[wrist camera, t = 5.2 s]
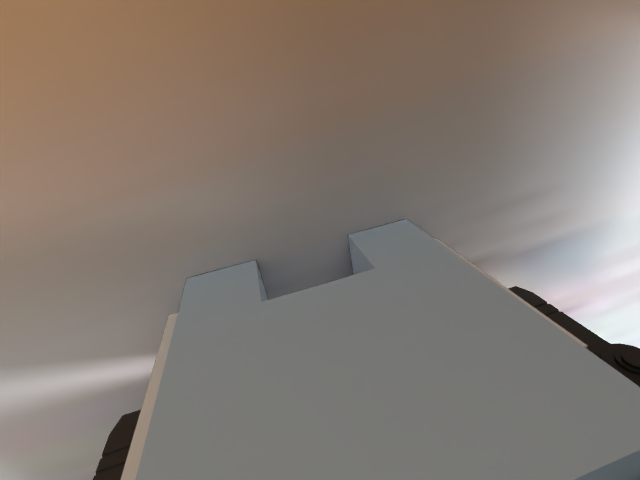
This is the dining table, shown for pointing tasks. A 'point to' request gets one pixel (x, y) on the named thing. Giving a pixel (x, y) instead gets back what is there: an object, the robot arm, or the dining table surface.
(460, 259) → the slotted blue block
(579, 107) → the dining table surface
